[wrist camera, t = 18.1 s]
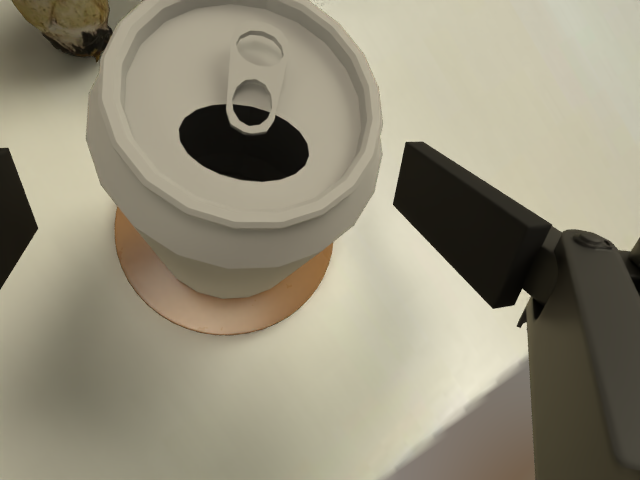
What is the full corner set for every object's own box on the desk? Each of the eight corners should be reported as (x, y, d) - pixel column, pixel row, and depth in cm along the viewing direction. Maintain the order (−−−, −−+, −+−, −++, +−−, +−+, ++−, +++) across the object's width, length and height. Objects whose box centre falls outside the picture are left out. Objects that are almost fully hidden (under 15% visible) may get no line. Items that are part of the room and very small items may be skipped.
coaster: (63, 225, 18) (59, 223, 17) (231, 96, 22) (231, 91, 21) (232, 383, 18) (232, 384, 18) (368, 229, 22) (371, 227, 22)
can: (140, 291, 18) (4, 226, 6) (169, 147, 20) (104, -103, 8) (296, 307, 19) (408, 278, 8) (309, 173, 21) (415, -3, 10)
